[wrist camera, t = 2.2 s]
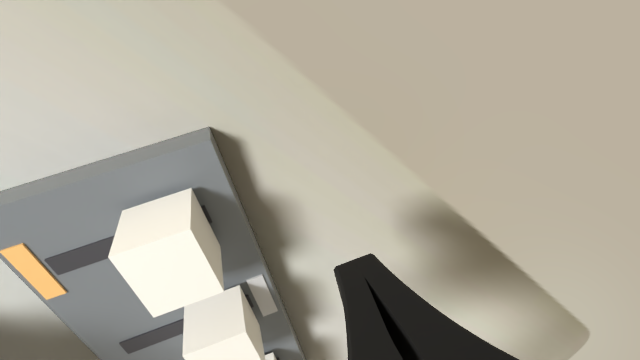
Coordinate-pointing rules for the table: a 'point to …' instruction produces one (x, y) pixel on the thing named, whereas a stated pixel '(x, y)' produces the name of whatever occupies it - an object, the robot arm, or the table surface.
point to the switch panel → (97, 237)
